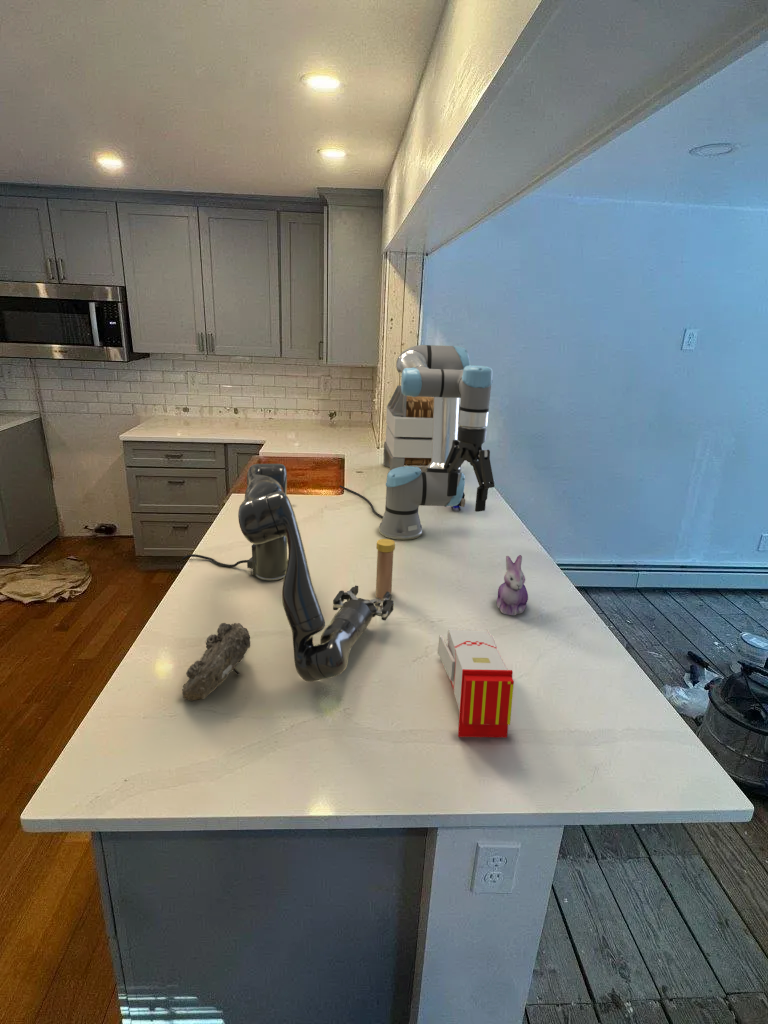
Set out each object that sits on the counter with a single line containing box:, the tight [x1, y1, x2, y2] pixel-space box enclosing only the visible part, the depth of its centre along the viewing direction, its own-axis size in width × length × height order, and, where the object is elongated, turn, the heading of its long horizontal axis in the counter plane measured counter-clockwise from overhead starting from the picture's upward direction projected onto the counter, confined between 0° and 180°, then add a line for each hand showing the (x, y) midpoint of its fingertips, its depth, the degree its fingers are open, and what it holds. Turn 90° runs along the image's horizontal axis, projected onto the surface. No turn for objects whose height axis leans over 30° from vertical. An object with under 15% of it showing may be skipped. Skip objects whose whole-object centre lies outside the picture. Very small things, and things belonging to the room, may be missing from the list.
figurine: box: [496, 554, 529, 616], centre depth 150 cm, size 9×10×15 cm
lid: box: [376, 538, 396, 552], centre depth 152 cm, size 5×5×2 cm
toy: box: [437, 628, 515, 738], centre depth 117 cm, size 12×13×30 cm
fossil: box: [181, 622, 251, 702], centre depth 119 cm, size 22×10×15 cm
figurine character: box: [449, 492, 466, 511], centre depth 229 cm, size 7×8×15 cm
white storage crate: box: [383, 384, 462, 473], centre depth 268 cm, size 34×33×41 cm
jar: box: [375, 549, 395, 599], centre depth 154 cm, size 4×4×16 cm
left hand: (372, 591), depth 146 cm, fingers open, 8 cm apart
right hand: (465, 503), depth 156 cm, fingers open, 13 cm apart
